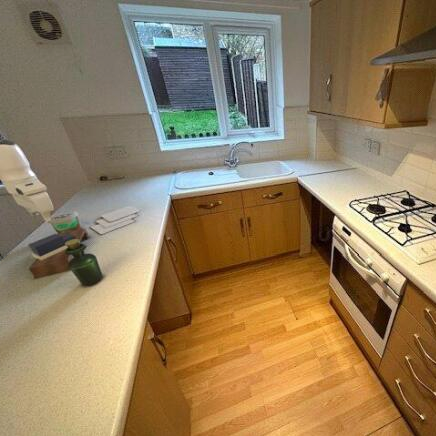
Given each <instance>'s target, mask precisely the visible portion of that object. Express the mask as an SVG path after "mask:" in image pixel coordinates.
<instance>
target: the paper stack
mask: <svg viewBox="0 0 436 436" xmlns="http://www.w3.org/2000/svg"><path fill="white" fill-rule="evenodd" d="M139 212H141V209H138V208H136V207H134V206H132V205H127V206H125V207H122V208H119V209H116V210H113V211H109V212H107V213H103V214H100V217H101V218H100V219H98V220H96V221H95V222H96V223H98V224H95V225H92V226H90V228H91V229H93V230H94V231H95V232H96V233H98V234H100V235H103V234H106V233H109V232H112V231H114V230H117V229H119V228H122V227H124V226H126V225H129V224H132V223H134V222H135V220H133V219H134V218H136V217H138V216H139V215H138V214H136V213H139Z"/></svg>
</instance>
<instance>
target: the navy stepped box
mask: <svg viewBox="0 0 436 436" xmlns="http://www.w3.org/2000/svg"><path fill="white" fill-rule="evenodd" d="M57 234H58V233H53V234H50V235H47V236H46V237H43V238H41V239H38V240H36V241H33V242H31V243H28V244H27V245H28V247H29V248H30V250H31V252H32V256H33V258H35V259H36V258H37V259H39V260H43V259H45V258H47V257H50V256H52V255H54V254H56V253H58V252H60V251H63V250H65V249H67V248H68V247H67V246H66V245H65V243H66V242H68V241H70V240H73V239H76V237H75V236H74V235H71V234H69V233H68V234H66V235H63V236H60V235H57ZM79 243H81V241H79Z"/></svg>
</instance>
